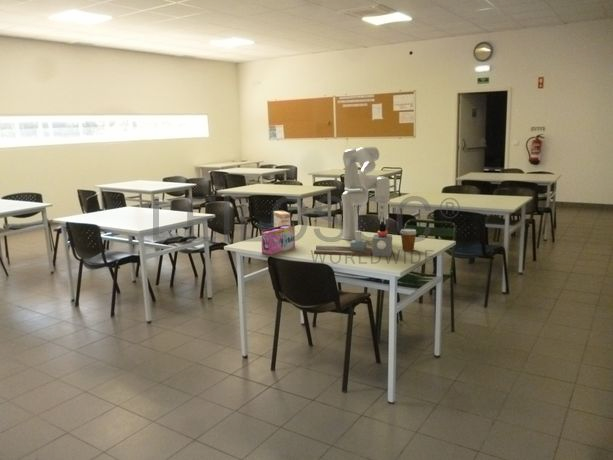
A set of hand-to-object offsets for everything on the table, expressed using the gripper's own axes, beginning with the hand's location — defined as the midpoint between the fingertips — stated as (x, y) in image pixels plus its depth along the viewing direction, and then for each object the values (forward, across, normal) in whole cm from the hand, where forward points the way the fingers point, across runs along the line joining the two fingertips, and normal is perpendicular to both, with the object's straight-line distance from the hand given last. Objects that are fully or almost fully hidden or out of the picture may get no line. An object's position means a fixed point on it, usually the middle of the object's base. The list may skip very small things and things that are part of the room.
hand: (382, 231), depth 292 cm
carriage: (+11, 0, +14) cm, 18 cm away
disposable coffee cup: (+13, +12, -14) cm, 23 cm away
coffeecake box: (+13, +24, +67) cm, 73 cm away
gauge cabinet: (+13, 0, 0) cm, 13 cm away
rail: (+13, 0, +23) cm, 26 cm away
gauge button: (+9, 0, 0) cm, 9 cm away
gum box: (+13, 0, +62) cm, 64 cm away
